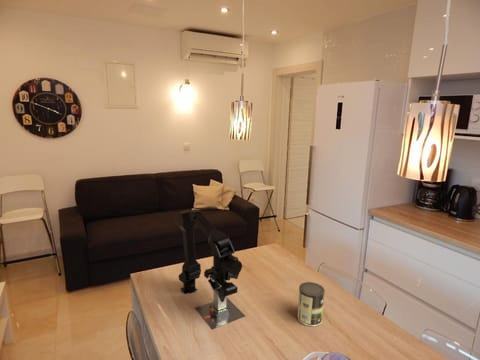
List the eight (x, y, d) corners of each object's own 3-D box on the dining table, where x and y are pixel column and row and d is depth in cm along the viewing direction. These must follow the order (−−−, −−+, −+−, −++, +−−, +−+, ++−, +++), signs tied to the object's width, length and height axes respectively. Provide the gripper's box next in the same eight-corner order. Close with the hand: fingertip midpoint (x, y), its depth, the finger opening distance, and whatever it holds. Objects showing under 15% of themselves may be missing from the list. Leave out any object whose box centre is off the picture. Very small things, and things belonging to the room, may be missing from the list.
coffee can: (321, 312, 135) (323, 283, 132) (322, 328, 125) (325, 297, 122) (297, 309, 137) (299, 280, 134) (296, 324, 127) (298, 293, 124)
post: (213, 307, 133) (213, 288, 131) (221, 304, 135) (221, 285, 133) (217, 312, 130) (218, 293, 128) (226, 309, 132) (226, 290, 130)
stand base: (194, 310, 135) (194, 302, 134) (226, 298, 144) (226, 292, 143) (211, 331, 122) (211, 324, 121) (245, 318, 131) (245, 310, 130)
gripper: (249, 270, 125) (248, 304, 128) (225, 252, 140) (225, 283, 143) (224, 277, 119) (224, 313, 122) (203, 257, 134) (203, 290, 137)
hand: (219, 299), depth 131 cm, fingers closed on post, 4 cm apart
